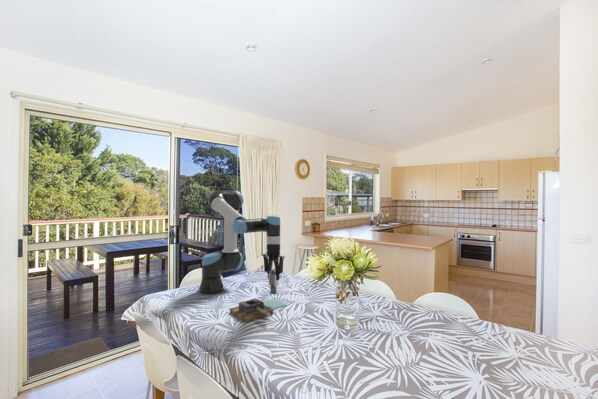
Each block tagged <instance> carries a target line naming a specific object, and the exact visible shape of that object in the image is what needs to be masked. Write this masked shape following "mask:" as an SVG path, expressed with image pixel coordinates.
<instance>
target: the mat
mask: <svg viewBox="0 0 598 399" xmlns="http://www.w3.org/2000/svg"><path fill="white" fill-rule="evenodd" d="M263 302H264V306H266V307H268V308H270V309H272V310H273V311H274V310H276V309H279V308H283V307H286V306H287V304H286V303H285V302H282V301H279V300H277V299H276V298H273V299H269V300H265V301H263Z"/></svg>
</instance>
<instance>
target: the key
mask: <svg viewBox="0 0 598 399" xmlns="http://www.w3.org/2000/svg"><path fill="white" fill-rule="evenodd" d="M269 272H270V285H269V286H270V287H269V288H270V290H269V291H270V295H277V293H278V292H277V286H275V274H276V271H275V268H272V270H270V271H269Z"/></svg>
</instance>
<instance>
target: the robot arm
mask: <svg viewBox="0 0 598 399" xmlns="http://www.w3.org/2000/svg"><path fill="white" fill-rule="evenodd" d="M207 201H208V206H209V207H210V208H211V209H212V210H213V211H216V212H217V213H219V215H221V216H222V218H223V221H224V222H223V228H224V230H223V249H222V250H221V253H220V252H214V253H213V252H211V253H207V254H204V255H203V256H202V259H201V282H200V285H199V288H198V292H199V293H200V294H204V295H213V294H218V293H222V292H223V291H224V287H225V286H224V284H223V280H222V276H221V275H222V273H225V272H231V271H232V272H233V271H236V270H239V269H240V268H241V267H242V266H243V261H244V259H243V254H242V253H241V252H240V249H239V248H238V234H241V235H243V234H250V233H260V232H261V233H262V232H265V233H266V250H267V251H266V253H263V254H262V257H263V269H264V270H263V271H264V272H265V273H267V279H268V286H270V272H269V271H270V270H273V263H274V269H275V271H276V274H275V286H279V281H280V278H281V277H280V275H281V274H283V272H284V260H285V255H282V254H281V252H280V251H281V244H280V243H281V217H280V216H279V215H267V216H266V218H263V217H261V218H258V217H257V218H253V219H251V218H249V219H247V218H246V217H244V215H243V214H241V213H240V211H241V210H240V209H241V208H242V207H243V205H244V197H243V194H242V193H241V192H240V191H239V190H230V189H229V190H227V189H226V190H224V189H223V190H221V189H219V190H215V191H213V192H211V194H210V195H209V196H208V199H207Z"/></svg>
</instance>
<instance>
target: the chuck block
mask: <svg viewBox="0 0 598 399" xmlns="http://www.w3.org/2000/svg"><path fill="white" fill-rule="evenodd" d="M264 302H265V301H261V300H260V299H257V298H256V297H255V298H253V299H252V298H251V299H248V300H245V301H240V302H238V306H235V307H230V308H229V313H230V314H232V315H233V316H235V317H237V318H239V319H240V320H242V321H243V322H244V323H248V322H251V321H254V320H257V319H261V318H263V317H264V318H265V317H270V316H271V315H274V309H273V310H272V309H270V308H268V307H266V306H264Z"/></svg>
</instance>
